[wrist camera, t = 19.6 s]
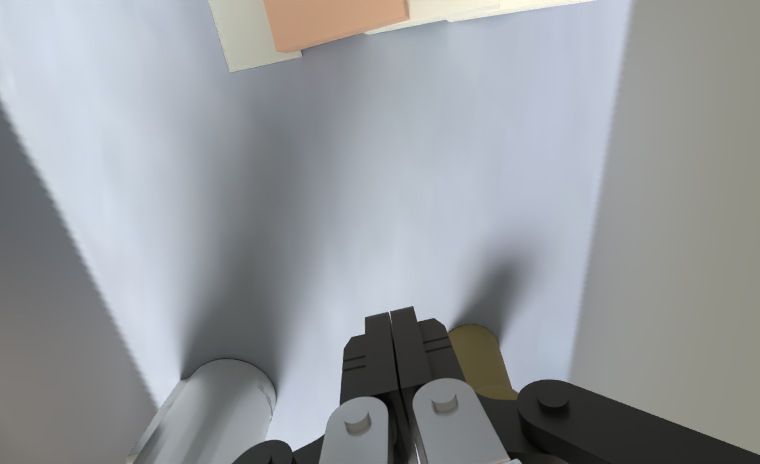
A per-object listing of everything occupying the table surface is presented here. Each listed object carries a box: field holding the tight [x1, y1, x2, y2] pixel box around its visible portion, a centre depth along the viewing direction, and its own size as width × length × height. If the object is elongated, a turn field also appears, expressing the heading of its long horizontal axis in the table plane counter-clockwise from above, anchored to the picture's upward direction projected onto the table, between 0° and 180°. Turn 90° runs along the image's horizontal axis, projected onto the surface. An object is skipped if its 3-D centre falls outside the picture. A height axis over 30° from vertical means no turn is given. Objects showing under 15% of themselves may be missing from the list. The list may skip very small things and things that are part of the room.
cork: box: [448, 325, 518, 400], centre depth 35 cm, size 6×6×11 cm
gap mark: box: [208, 0, 302, 73], centre depth 31 cm, size 6×6×1 cm
